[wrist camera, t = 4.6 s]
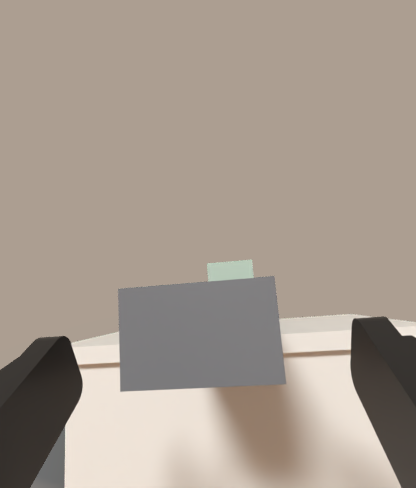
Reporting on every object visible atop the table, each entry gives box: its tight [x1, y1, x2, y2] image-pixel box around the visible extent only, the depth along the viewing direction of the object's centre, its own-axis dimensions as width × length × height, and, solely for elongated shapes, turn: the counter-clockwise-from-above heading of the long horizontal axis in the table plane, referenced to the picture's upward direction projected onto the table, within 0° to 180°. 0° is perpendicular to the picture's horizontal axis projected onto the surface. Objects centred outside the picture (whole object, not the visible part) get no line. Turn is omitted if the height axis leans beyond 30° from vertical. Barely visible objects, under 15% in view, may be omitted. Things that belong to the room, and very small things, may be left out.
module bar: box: [118, 260, 286, 392], centre depth 20 cm, size 4×24×6 cm, turn 173°
